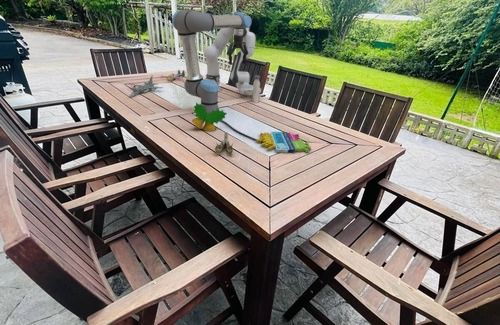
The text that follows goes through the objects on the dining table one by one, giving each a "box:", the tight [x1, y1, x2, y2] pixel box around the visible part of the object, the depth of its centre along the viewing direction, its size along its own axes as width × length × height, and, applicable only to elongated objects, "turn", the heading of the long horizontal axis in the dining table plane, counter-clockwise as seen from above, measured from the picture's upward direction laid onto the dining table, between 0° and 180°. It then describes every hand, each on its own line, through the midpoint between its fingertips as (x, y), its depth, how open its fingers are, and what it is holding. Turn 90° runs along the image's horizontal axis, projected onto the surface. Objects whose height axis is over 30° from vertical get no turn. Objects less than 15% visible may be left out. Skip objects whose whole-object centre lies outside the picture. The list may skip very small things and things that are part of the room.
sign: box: [255, 131, 312, 154], centre depth 152 cm, size 26×2×30 cm
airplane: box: [127, 74, 164, 98], centre depth 226 cm, size 38×31×10 cm
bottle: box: [251, 79, 261, 103], centre depth 219 cm, size 6×6×21 cm
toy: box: [160, 69, 186, 82], centre depth 279 cm, size 28×7×30 cm
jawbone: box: [214, 131, 234, 156], centre depth 136 cm, size 9×15×10 cm
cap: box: [253, 75, 261, 80], centre depth 214 cm, size 4×4×2 cm
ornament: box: [191, 102, 228, 132], centre depth 162 cm, size 21×8×15 cm, turn 105°
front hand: (237, 64), depth 210 cm, fingers open, 13 cm apart
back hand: (254, 93), depth 224 cm, fingers open, 8 cm apart
